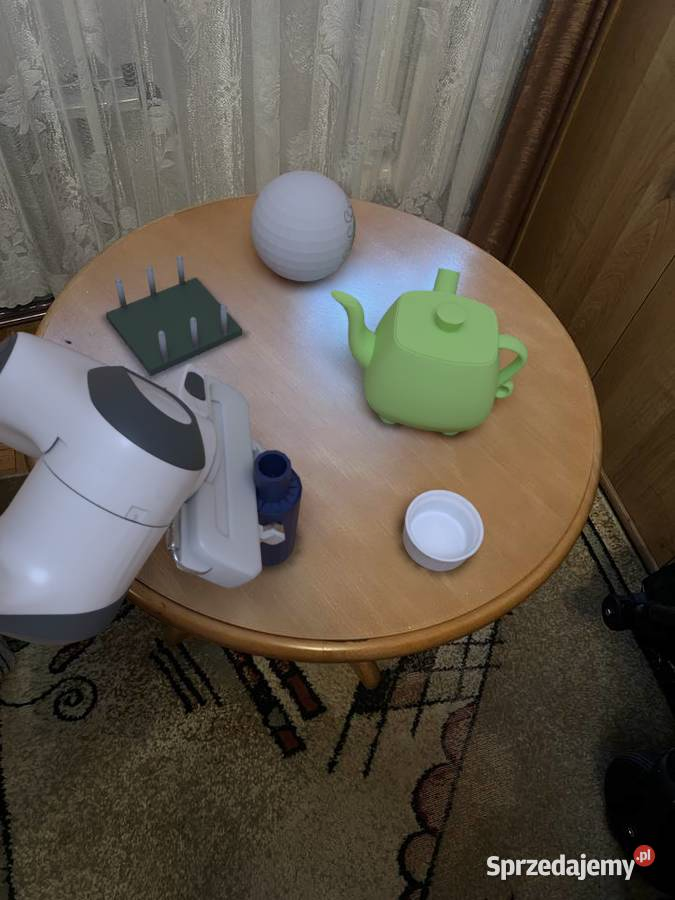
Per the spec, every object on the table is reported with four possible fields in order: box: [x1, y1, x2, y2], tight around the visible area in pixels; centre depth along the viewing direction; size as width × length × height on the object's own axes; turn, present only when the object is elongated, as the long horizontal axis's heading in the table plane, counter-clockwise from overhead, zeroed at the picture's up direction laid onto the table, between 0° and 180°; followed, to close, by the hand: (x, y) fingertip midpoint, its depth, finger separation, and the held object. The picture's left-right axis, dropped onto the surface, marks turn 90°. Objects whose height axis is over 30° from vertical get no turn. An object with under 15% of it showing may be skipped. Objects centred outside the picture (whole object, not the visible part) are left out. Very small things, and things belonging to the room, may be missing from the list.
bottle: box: [254, 449, 303, 567], centre depth 67 cm, size 6×6×16 cm
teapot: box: [330, 267, 529, 436], centre depth 83 cm, size 25×22×16 cm
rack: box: [105, 254, 243, 377], centre depth 87 cm, size 14×12×6 cm
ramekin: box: [402, 489, 485, 572], centre depth 74 cm, size 9×9×4 cm
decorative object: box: [250, 169, 356, 282], centre depth 93 cm, size 15×15×15 cm
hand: (276, 502), depth 66 cm, fingers closed on bottle, 6 cm apart
